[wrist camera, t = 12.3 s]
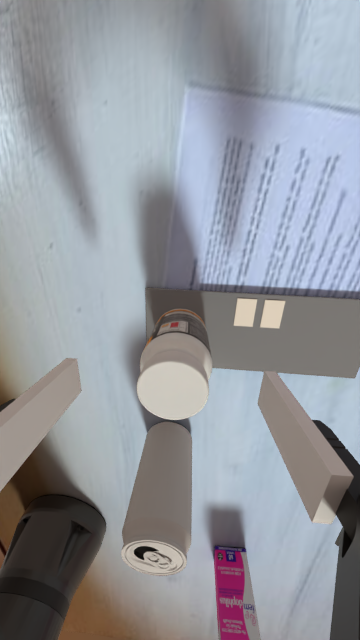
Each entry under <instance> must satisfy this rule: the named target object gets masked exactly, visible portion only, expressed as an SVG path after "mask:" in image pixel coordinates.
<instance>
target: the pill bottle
mask: <svg viewBox="0 0 360 640" xmlns="http://www.w3.org/2000/svg"><path fill="white" fill-rule="evenodd" d="M140 371H141V373H140V375H139V378H138V381H137V394H138V397H139V400H140V402H141V403H142V405H143V406H144V407H145V408H146V409H147V410H148V411H149V412H151V413H152V414H154V415H156V416H158V417H161V418H164V419H170V420H180V419H185V418H189V417H191V416H193V415H195V414H197V413H198V412H199V411H200V410H201V409H202V408H203V407H204V405H205V404H206V402H207V399H208V395H209V385H208V380H209V378H210V375H211V372H212V357H211V350H210V346H209V341H208V335H207V331H206V327H205V324H204V322H203V320H202V319H201V318H200V317H199V316H198V315H197V314H196V313H194V312H192V311H190V310H187V309H173V310H170V311H168V312H166V313H165V314H163V315H162V316H161V317H160V319H159V320H158V322H157V323H156V325H155V327H154V329H153V331H152V334H151V336H150V338H149V340H148V342H147V344H146V346H145V348H144V350H143V352H142V355H141V359H140Z"/></svg>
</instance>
